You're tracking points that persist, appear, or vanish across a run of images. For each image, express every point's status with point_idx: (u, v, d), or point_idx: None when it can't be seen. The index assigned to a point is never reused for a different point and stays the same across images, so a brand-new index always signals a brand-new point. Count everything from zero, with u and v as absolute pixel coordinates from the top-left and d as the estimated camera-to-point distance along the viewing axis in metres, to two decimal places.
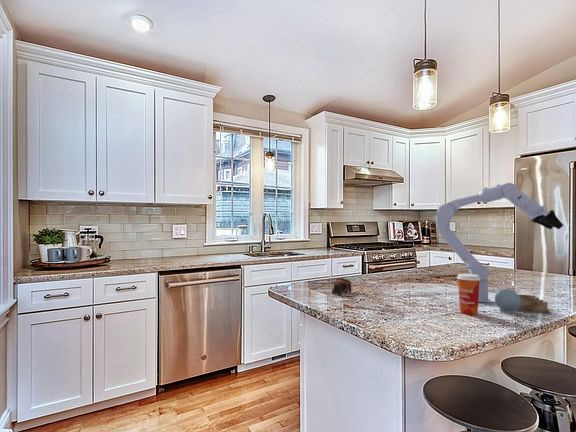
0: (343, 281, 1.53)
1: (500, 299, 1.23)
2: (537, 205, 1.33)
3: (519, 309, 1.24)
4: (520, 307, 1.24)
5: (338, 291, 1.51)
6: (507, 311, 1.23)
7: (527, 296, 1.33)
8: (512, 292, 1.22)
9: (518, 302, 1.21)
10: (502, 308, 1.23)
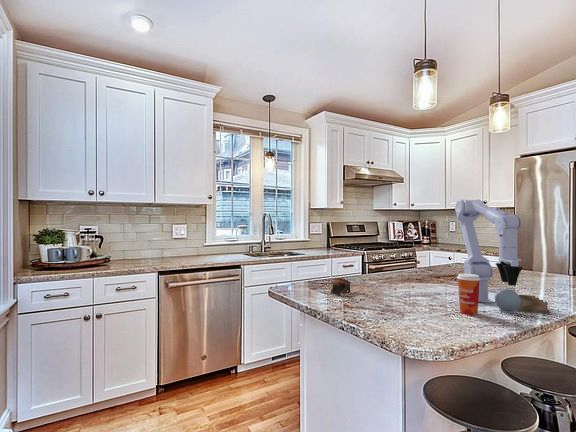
0: (342, 281, 1.53)
1: (500, 299, 1.23)
2: (515, 254, 1.21)
3: (519, 309, 1.24)
4: (520, 307, 1.24)
5: (337, 291, 1.51)
6: (507, 311, 1.23)
7: (527, 296, 1.33)
8: (512, 292, 1.22)
9: (518, 302, 1.21)
10: (502, 308, 1.23)
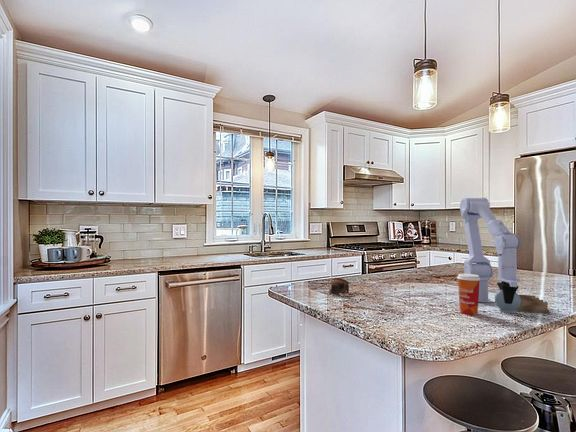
0: (341, 281, 1.53)
1: (500, 298, 1.23)
2: (514, 274, 1.21)
3: (519, 309, 1.24)
4: (520, 307, 1.24)
5: (336, 291, 1.51)
6: (507, 311, 1.23)
7: (527, 296, 1.33)
8: None
9: (518, 302, 1.21)
10: (502, 308, 1.23)
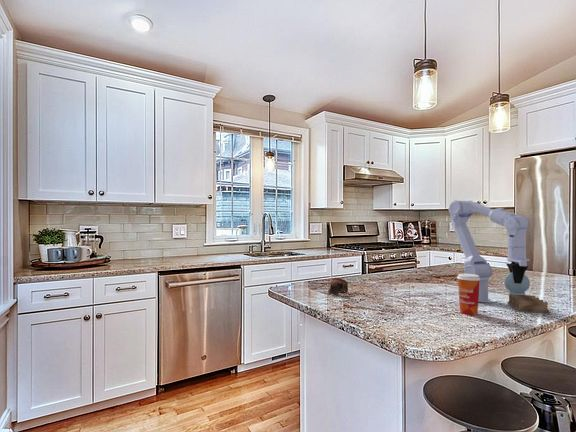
0: (340, 281, 1.53)
1: (509, 281, 1.26)
2: (524, 254, 1.23)
3: (519, 309, 1.24)
4: (520, 307, 1.24)
5: (335, 291, 1.51)
6: (516, 293, 1.25)
7: (527, 296, 1.33)
8: None
9: (527, 284, 1.24)
10: (511, 290, 1.26)
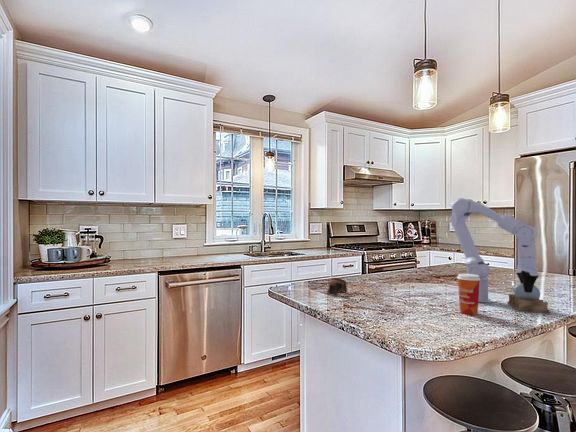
0: (339, 281, 1.53)
1: (520, 292, 1.29)
2: (534, 264, 1.26)
3: (519, 309, 1.24)
4: (520, 307, 1.24)
5: (334, 291, 1.51)
6: None
7: None
8: None
9: (538, 295, 1.27)
10: None
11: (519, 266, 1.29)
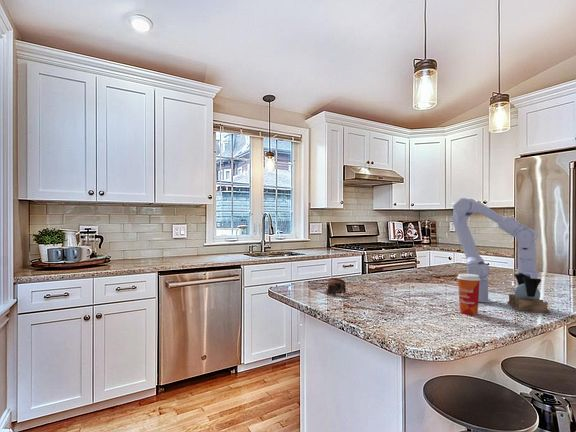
0: (337, 281, 1.53)
1: (520, 293, 1.29)
2: (534, 266, 1.26)
3: (519, 309, 1.24)
4: (520, 307, 1.24)
5: (333, 291, 1.51)
6: None
7: None
8: None
9: (538, 296, 1.27)
10: None
11: (519, 269, 1.29)
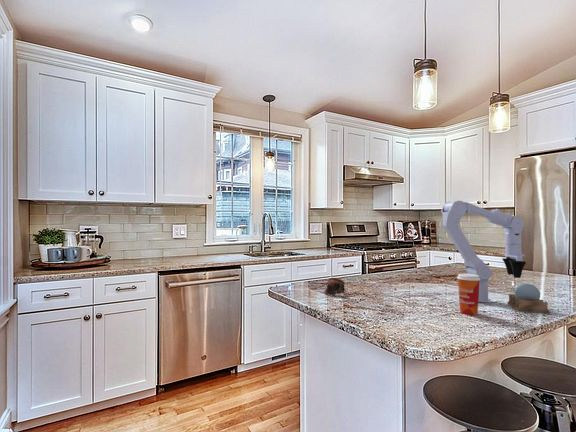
0: (336, 281, 1.53)
1: (520, 293, 1.29)
2: (519, 250, 1.38)
3: (519, 309, 1.24)
4: (520, 307, 1.24)
5: (332, 291, 1.51)
6: None
7: None
8: (532, 286, 1.27)
9: (538, 296, 1.27)
10: None
11: (506, 253, 1.41)
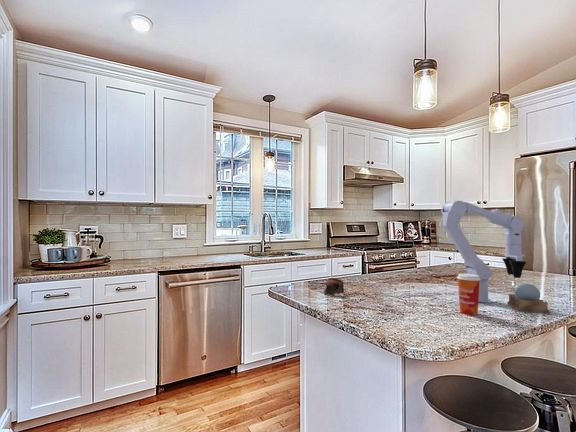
0: (336, 281, 1.53)
1: (520, 293, 1.29)
2: (519, 250, 1.38)
3: (519, 309, 1.24)
4: (520, 307, 1.24)
5: (331, 291, 1.51)
6: None
7: None
8: (532, 286, 1.27)
9: (538, 296, 1.27)
10: None
11: (506, 253, 1.41)
